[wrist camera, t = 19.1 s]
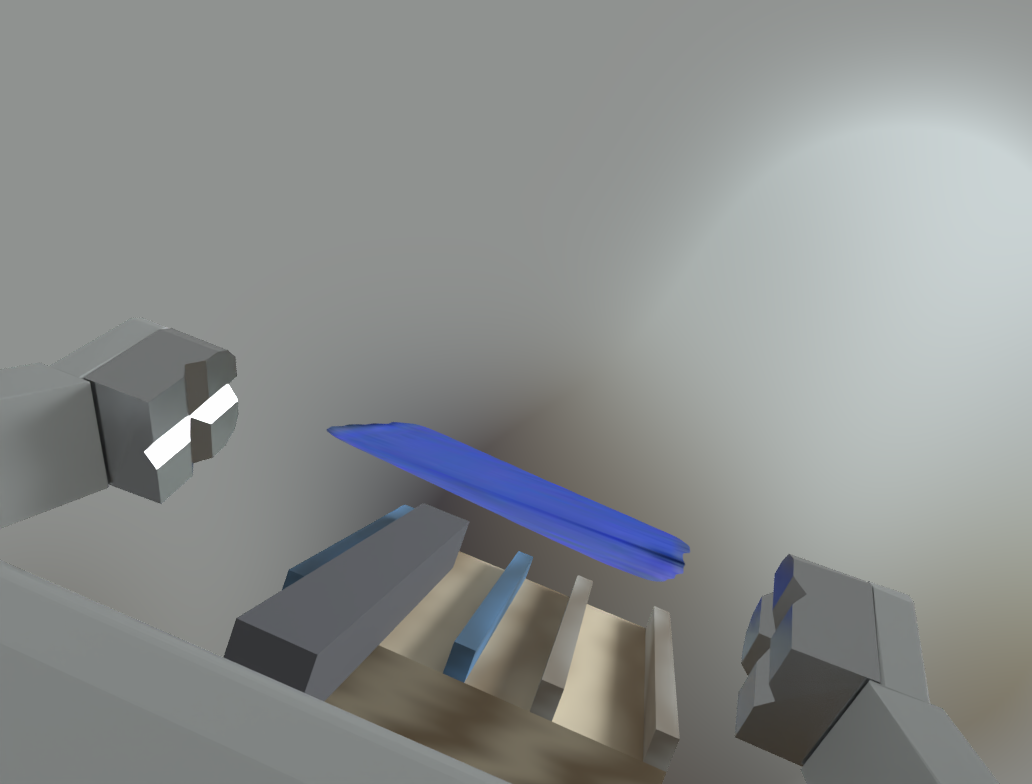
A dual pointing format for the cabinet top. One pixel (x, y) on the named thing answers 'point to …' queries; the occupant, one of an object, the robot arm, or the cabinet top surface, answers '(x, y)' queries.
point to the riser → (519, 677)
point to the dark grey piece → (347, 604)
